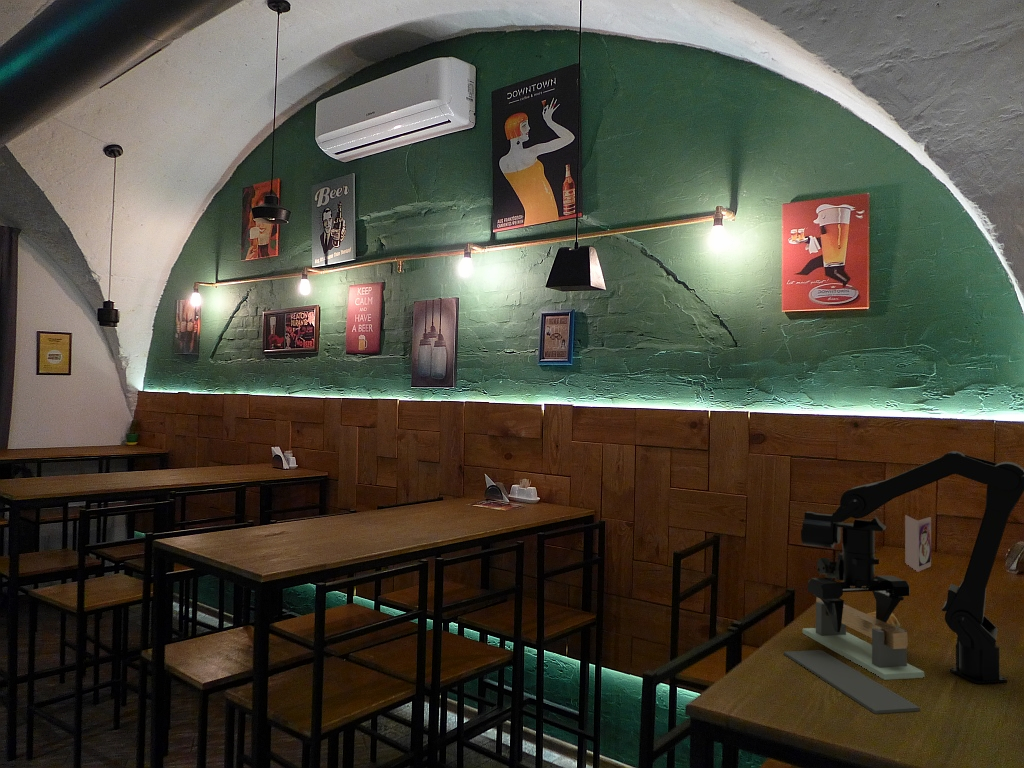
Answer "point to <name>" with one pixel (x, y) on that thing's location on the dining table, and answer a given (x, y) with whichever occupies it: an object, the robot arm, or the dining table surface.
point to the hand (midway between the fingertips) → (858, 630)
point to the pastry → (891, 620)
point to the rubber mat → (852, 682)
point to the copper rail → (866, 623)
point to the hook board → (863, 648)
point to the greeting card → (918, 543)
